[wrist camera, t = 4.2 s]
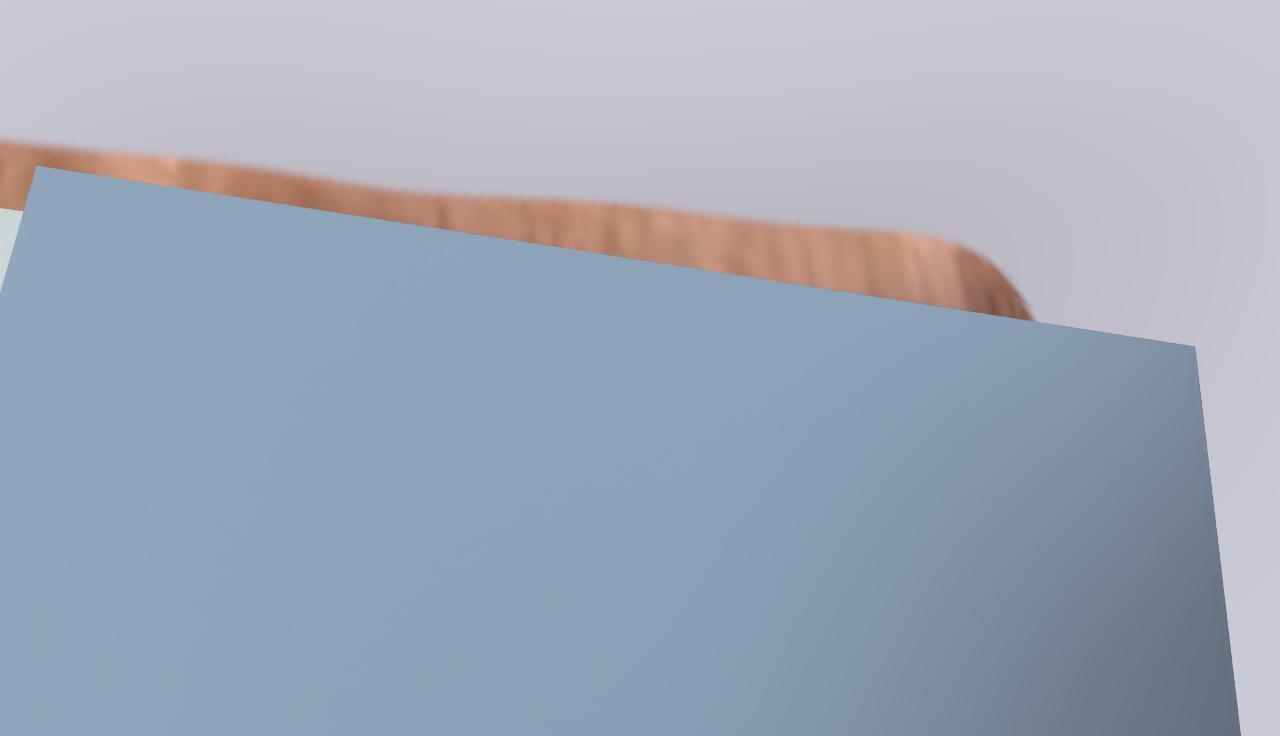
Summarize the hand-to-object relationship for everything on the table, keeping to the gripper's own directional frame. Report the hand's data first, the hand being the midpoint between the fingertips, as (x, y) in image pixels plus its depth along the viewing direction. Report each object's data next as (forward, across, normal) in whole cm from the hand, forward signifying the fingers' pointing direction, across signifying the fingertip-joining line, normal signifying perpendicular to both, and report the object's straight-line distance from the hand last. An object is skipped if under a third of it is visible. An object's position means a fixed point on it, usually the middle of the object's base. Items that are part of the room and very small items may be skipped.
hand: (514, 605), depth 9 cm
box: (+4, 0, +6) cm, 7 cm away
